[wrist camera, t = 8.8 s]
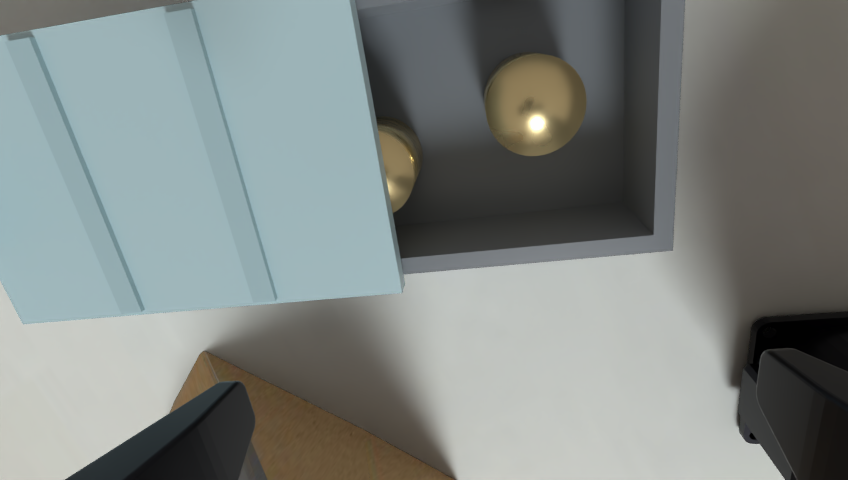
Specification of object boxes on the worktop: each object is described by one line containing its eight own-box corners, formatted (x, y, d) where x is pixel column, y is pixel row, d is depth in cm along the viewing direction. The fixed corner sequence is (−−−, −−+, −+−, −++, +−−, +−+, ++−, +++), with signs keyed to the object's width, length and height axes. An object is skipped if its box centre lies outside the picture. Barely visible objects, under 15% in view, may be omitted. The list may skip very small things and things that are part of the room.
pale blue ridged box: (350, -24, 13) (290, -55, 9) (405, 283, 17) (381, 368, 12) (-123, 61, 15) (-357, 70, 11) (11, 316, 19) (-127, 399, 14)
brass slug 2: (567, 45, 17) (585, 46, 14) (570, 132, 18) (587, 150, 15) (480, 58, 17) (480, 62, 14) (487, 143, 18) (490, 161, 15)
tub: (639, -47, 16) (688, -74, 12) (634, 210, 19) (672, 250, 16) (243, 20, 18) (183, 15, 14) (300, 243, 21) (263, 286, 18)
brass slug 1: (416, 111, 18) (405, 123, 15) (428, 188, 19) (420, 213, 16) (338, 122, 18) (315, 136, 16) (354, 197, 20) (335, 222, 17)
